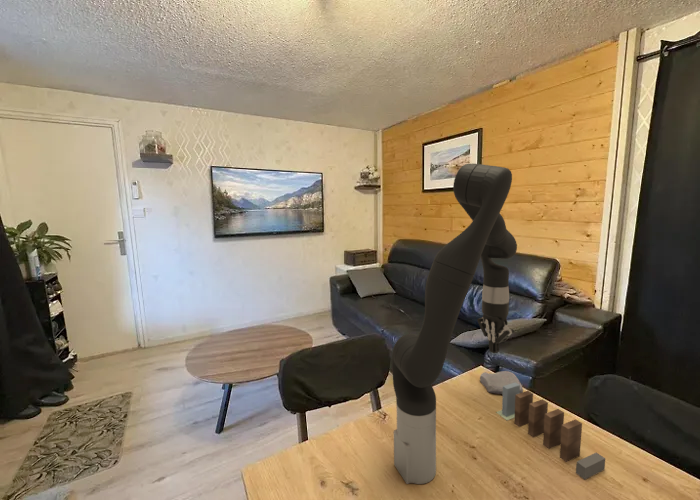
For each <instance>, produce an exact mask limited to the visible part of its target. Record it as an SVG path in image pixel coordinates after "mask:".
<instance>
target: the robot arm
mask: <svg viewBox="0 0 700 500" xmlns="http://www.w3.org/2000/svg"><path fill="white" fill-rule="evenodd" d="M512 182H513V174H512V170H511V169H509V168H508V167H503V166H496V165H489V164H481V163H466V164H463V165H462V166H460V168H459V169H458V170H457V172H456V175H455V177H454V180H453V194H454V198H455V199H456V201H457V202H458V204H459V205H460V206H461V207H462V209H463V210H464V211H465V212H466V214H467V215H468V217H469V218H470V219H471V223H469V225H468V226H467V227H466V228H465V229H464V230H463V231H462V232H460V234H458V235H457V236H455V237H454V238H453V239H452V240H450V241H449V242H447V244H445V245H444V246H443V247H441V249H440V250H439V251H437V253H436V255H434V259H433V262H432V264H431V267H430V269H429V272H428V275H427V278H426V281H425V288H424V289H425V291H424V293H425V294H424V316H423V320H422V321H423V322H422V325H421V328H420V331H419V334H416V333H408V334H404V335H402V336H401V337H399V338H398V340H396V341H395V344H394V346H393V348H392V352H391V353H392V354H391V368H392V384H393V386H392V387H393V391H394V393H395V398H396V399H395V400H396V401H395V402H396V405H395V406H396V429H394V430H393V465H394V466H395V468H396V469H397V472H398V473H399V474H400V476H401V477H402V479H403V480H404V482H405V484H406V485H407V484H408V485H409V484H417V485H423V484H427V483H430V482H432V481H433V480H434V478H435V476H436V473H437V396H436V395H437V394H436V393H435V390H434V389H435V388H434V387H433V385H432V384H434V383H435V382H436V381H437V380H438V378H439V376H440V375H441V373H442V371H443V367H444V364H445V361H446V357H447V353H448V350H449V347H450V346H449V345H450V343H451V339H452V335H453V332H454V329H455V327H456V326H455V325H456V323H457V320H458V318H459V314H460V312H461V309H462V307H463V303H464V301H465V299H466V296H467V294H468V292H469V289H470V287H471V285H472V282H473V280H474V276H475V273H476V271H477V269H478V265H479V262H480V260H481V264H482V269H483V277H482V278H483V284H482V285H483V286H482V291H481V292H482V293H481V294H482V295H481V299H482V300H481V312H482V317H480V318H477V323H478V326H479V327H480V330H481V332H482V334H483V336H484V337H487V340H488V349H489V352H490V353H491V354H497V353H498V352H500V343H503V342H506V341H507V340H508V339H509V338H510V337H511V336H512V335H513V334H515V331H514V329H513V328H511V329H510V327H509V326H508V325H509V324H508V323H509V322H508V320H507V318H508V316H509V311H510V310H509V309H510V290H509V289H510V288H509V278H510V270H509V269H508V268H509V267H506V266H505V265H501V264H498V263H495V262H494V261H493V259H511V258H513V257H514V256H515V254H516V253H517V250H518V244H517V241H516V238H515V237H514V235H513V234H512V233H511V232H510V230H508V229H507V227H506V222H505V219H504V217H503V216H502V214H501V211H502V209H503V207H504V204H505V202H506V200H507V198H508V195H509V193H510V189H511V186H512Z"/></svg>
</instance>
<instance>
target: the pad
mask: <svg viewBox="0 0 700 500" xmlns="http://www.w3.org/2000/svg"><path fill="white" fill-rule="evenodd" d="M495 413H496V414H498V415H499V416H500V417H501V418H503V420H505V421H510V420H514V417H515V414H513V415H510V416H508V417H506V416H504V415H503V414H502V409H500V410H498V411H495Z"/></svg>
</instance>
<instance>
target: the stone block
mask: <svg viewBox="0 0 700 500" xmlns="http://www.w3.org/2000/svg"><path fill="white" fill-rule="evenodd" d="M479 382H480V383H481V384H482V386H484V387H485V388H486V391H487V392H488V393H490V394H498V395H503V386H505V385H508V384H512V383H515V382H516V383H517V384H519V385H520V393H522V392H524V389H523V385H522V383H521V381H520V380H519V378H518V377H517V376H516V374H514V373H513V372H512V371H511V372H510V371H508V370H502V371H497V372H495V373H491V372H490V373H488V372H485V371H484V372H482V373H481V374H480V376H479Z"/></svg>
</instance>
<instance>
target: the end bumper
mask: <svg viewBox="0 0 700 500" xmlns="http://www.w3.org/2000/svg"><path fill="white" fill-rule="evenodd" d="M605 469H606V457H604V456H602V455H601V454H599V453H598V452H594V453H592V454H590V455H588V456H586V457H583V458H581V459H580V460H579V459H578V460H576V466H575V474H576V475H578V476H579V477H580V478H581V479H582V480H587V479H589V478H591V477H594V476H595V475H597V474H599V473H601V472H603V471H605Z"/></svg>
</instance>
